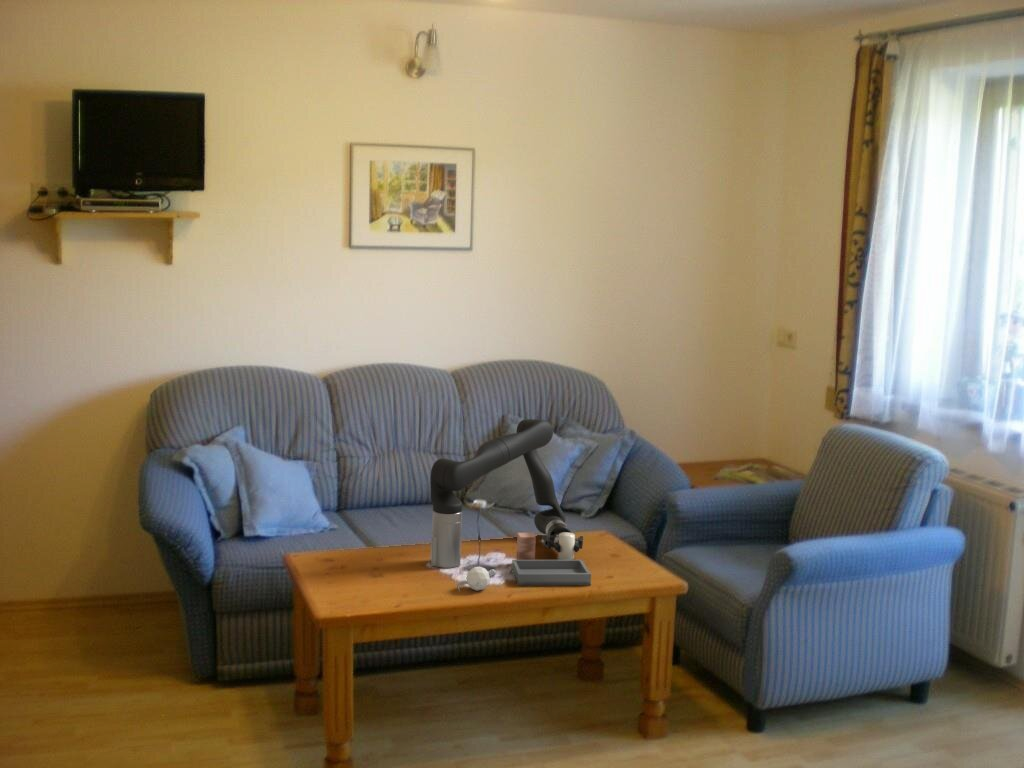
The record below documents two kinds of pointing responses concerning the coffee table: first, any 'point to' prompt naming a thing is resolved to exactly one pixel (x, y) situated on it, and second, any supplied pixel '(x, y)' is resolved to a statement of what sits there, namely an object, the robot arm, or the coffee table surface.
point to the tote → (550, 572)
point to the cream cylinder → (566, 546)
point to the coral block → (526, 546)
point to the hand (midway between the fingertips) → (568, 549)
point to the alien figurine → (477, 578)
